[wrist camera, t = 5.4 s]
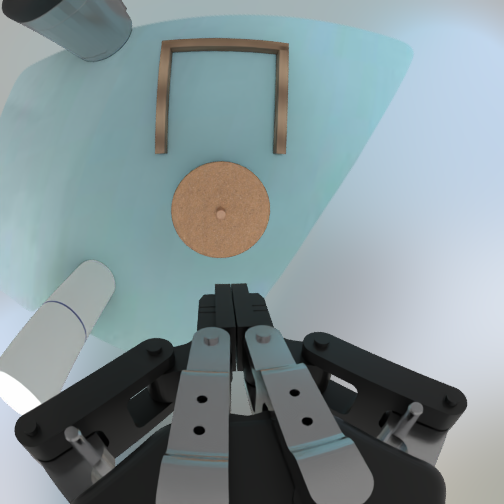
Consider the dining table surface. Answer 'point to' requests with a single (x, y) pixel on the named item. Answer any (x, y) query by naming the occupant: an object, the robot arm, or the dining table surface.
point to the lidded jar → (220, 209)
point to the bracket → (223, 45)
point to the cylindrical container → (54, 338)
